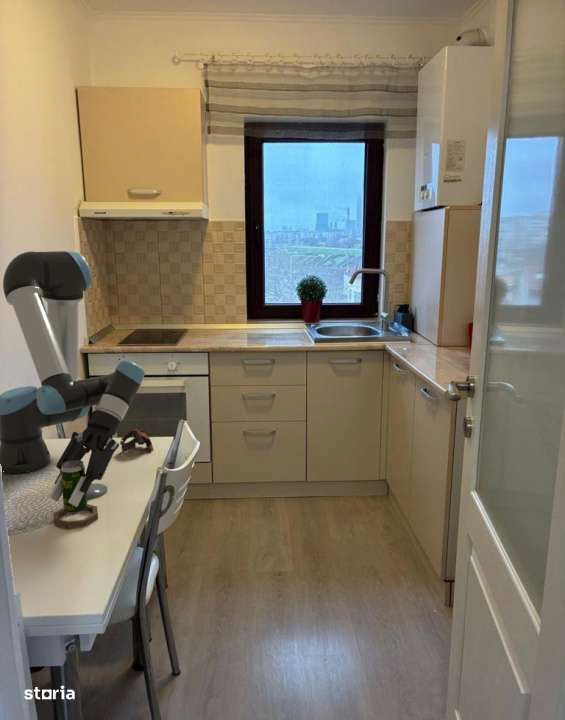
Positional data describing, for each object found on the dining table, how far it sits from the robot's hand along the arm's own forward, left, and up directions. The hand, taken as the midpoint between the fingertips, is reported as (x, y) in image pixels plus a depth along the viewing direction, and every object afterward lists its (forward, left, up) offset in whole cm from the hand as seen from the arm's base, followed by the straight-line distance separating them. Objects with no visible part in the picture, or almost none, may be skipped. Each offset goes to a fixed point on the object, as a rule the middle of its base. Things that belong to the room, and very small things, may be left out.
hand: (63, 501), depth 129 cm
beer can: (0, +4, -4) cm, 6 cm away
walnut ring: (0, +4, -6) cm, 7 cm away
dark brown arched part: (-17, +48, -6) cm, 51 cm away
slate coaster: (-8, +17, -6) cm, 20 cm away
